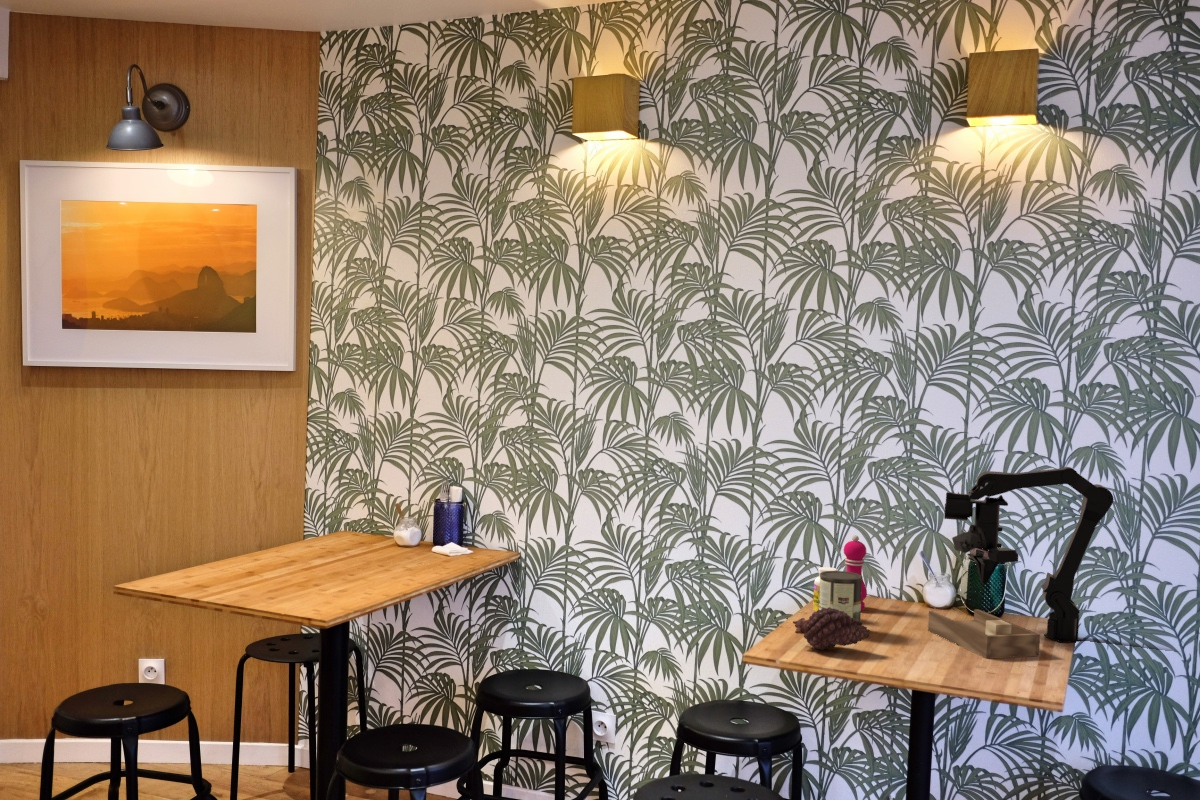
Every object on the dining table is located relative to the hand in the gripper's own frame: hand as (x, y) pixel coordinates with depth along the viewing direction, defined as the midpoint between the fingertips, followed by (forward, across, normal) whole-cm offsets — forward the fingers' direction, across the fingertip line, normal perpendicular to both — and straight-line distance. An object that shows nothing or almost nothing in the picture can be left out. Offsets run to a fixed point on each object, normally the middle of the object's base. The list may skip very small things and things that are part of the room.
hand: (983, 583), depth 265 cm
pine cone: (+12, +10, -47) cm, 50 cm away
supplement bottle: (+12, -18, -34) cm, 40 cm away
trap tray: (+12, +10, -7) cm, 17 cm away
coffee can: (+12, -5, -37) cm, 39 cm away
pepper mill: (+12, -26, -22) cm, 36 cm away
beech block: (+10, +18, -8) cm, 22 cm away
